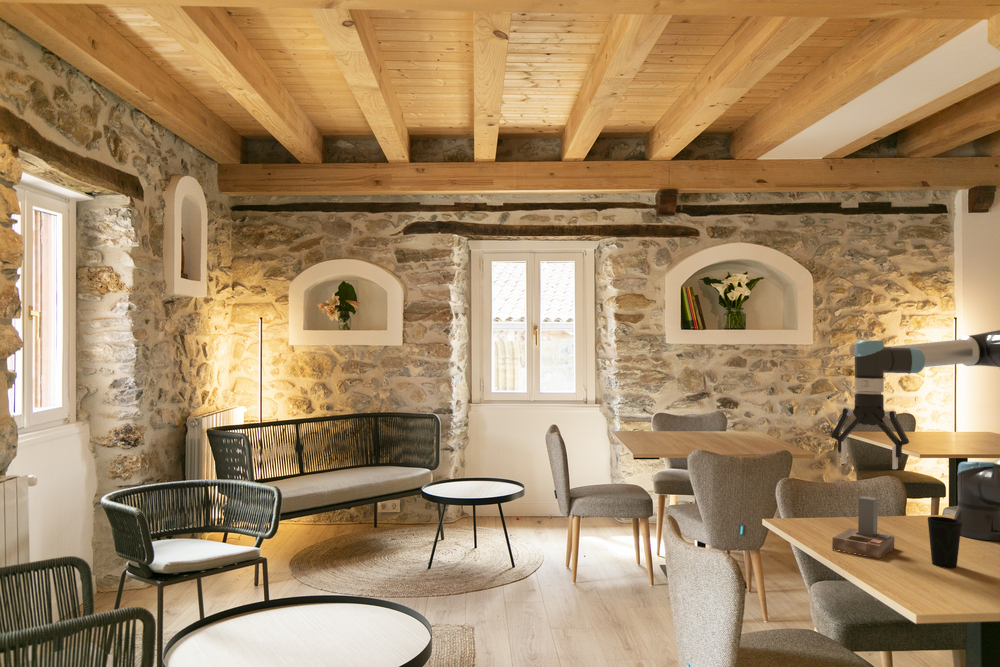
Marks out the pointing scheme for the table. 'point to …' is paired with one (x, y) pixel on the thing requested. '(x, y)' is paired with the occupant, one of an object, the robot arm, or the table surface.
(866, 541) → the socket block
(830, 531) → the table surface
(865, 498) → the plug
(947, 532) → the cup
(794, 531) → the table surface
